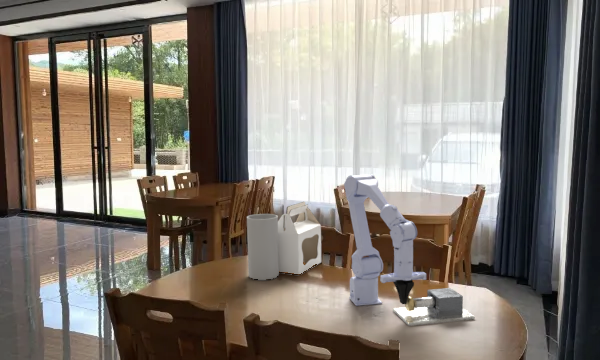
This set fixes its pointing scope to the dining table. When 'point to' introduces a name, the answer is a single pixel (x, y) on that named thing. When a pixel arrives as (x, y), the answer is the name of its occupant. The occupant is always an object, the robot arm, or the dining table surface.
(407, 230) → the robot arm
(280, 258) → the gable box
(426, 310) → the bearing block
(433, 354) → the dining table surface
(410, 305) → the shaft
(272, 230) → the cylinder vase
